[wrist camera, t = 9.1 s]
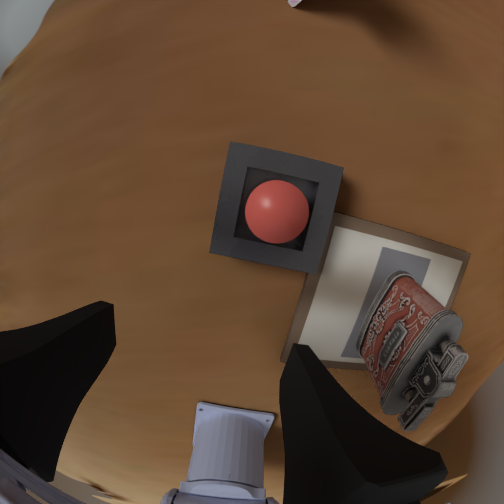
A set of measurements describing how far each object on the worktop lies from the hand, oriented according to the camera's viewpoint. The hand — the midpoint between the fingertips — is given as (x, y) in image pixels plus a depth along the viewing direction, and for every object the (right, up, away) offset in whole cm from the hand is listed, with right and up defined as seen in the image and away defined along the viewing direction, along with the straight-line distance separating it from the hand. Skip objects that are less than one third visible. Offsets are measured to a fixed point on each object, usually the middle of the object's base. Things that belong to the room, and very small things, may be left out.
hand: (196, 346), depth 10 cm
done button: (+4, +6, +7) cm, 10 cm away
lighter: (+13, -1, +10) cm, 17 cm away
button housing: (+4, +7, +9) cm, 12 cm away
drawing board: (+13, -1, +11) cm, 17 cm away
